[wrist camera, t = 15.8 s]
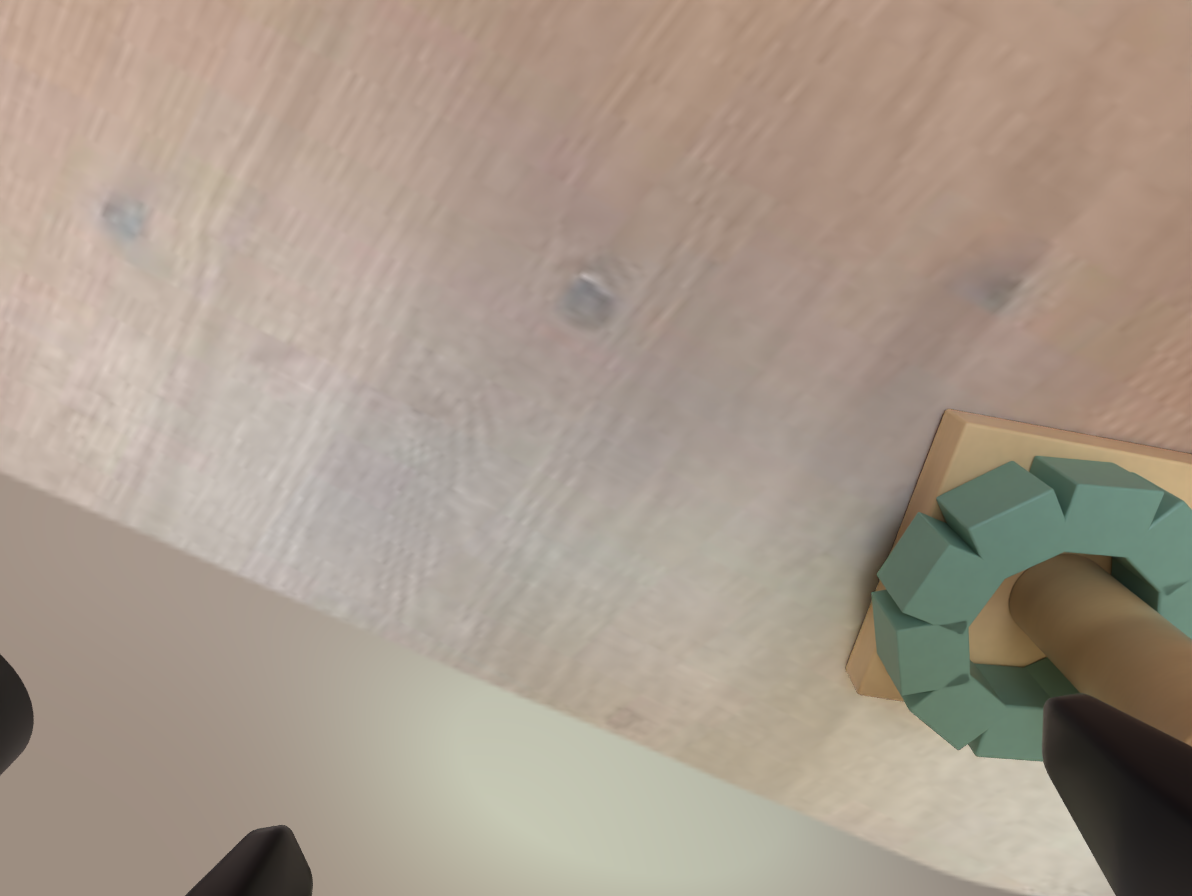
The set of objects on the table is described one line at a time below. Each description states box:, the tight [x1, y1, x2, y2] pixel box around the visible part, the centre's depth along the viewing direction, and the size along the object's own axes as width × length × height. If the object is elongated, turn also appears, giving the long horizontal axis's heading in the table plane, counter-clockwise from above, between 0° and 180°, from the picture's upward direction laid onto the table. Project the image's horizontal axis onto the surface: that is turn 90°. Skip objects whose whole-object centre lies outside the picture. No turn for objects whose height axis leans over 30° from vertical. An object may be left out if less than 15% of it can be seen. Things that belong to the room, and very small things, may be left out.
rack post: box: [846, 409, 1192, 746], centre depth 18 cm, size 9×9×7 cm
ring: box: [871, 456, 1192, 761], centre depth 19 cm, size 8×8×2 cm
